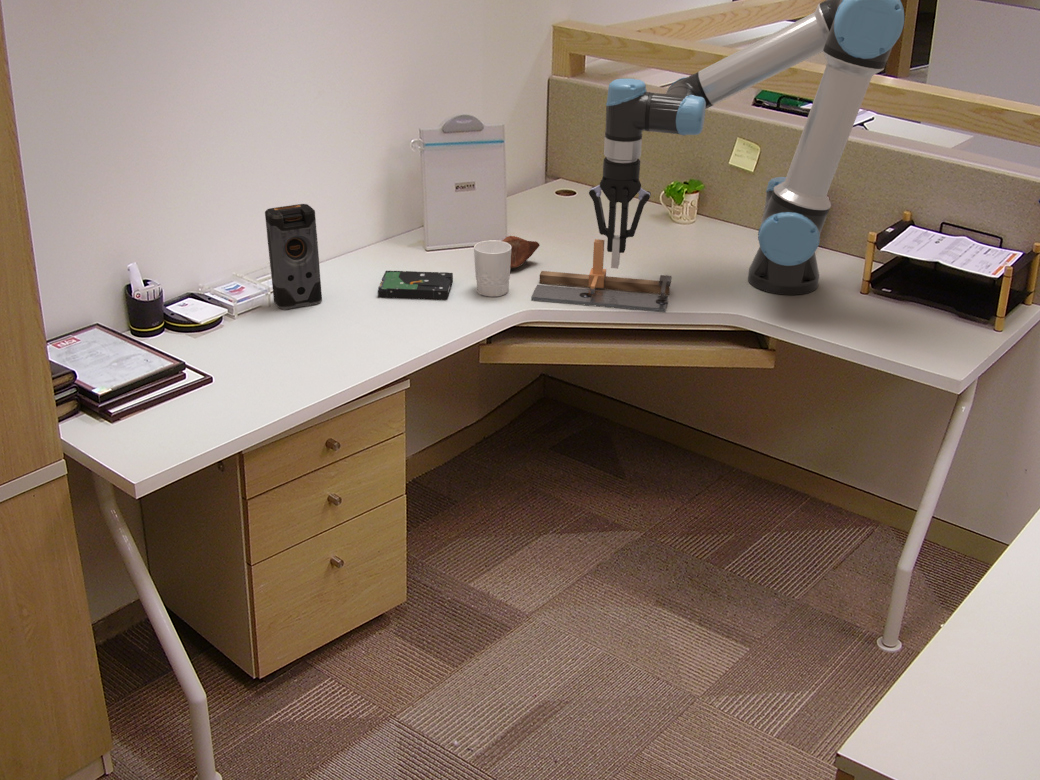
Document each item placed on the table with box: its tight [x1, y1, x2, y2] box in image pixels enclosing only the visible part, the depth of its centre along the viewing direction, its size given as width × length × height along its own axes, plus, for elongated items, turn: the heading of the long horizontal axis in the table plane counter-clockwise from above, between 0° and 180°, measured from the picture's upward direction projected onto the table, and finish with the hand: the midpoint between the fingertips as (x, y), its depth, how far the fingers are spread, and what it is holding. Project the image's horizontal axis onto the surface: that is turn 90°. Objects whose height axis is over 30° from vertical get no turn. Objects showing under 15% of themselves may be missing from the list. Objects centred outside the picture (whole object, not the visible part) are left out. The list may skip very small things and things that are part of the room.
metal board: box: [530, 284, 669, 313], centre depth 226 cm, size 28×7×1 cm, turn 79°
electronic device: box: [264, 203, 323, 311], centre depth 219 cm, size 9×6×20 cm, turn 117°
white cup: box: [473, 239, 512, 298], centre depth 228 cm, size 8×8×10 cm
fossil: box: [501, 235, 540, 269], centre depth 241 cm, size 13×8×10 cm
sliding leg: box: [588, 238, 607, 294], centre depth 228 cm, size 3×10×10 cm, turn 169°
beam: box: [539, 270, 673, 300], centre depth 229 cm, size 28×10×3 cm, turn 79°
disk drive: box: [377, 270, 454, 301], centre depth 230 cm, size 10×3×15 cm
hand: (615, 265), depth 231 cm, fingers closed
